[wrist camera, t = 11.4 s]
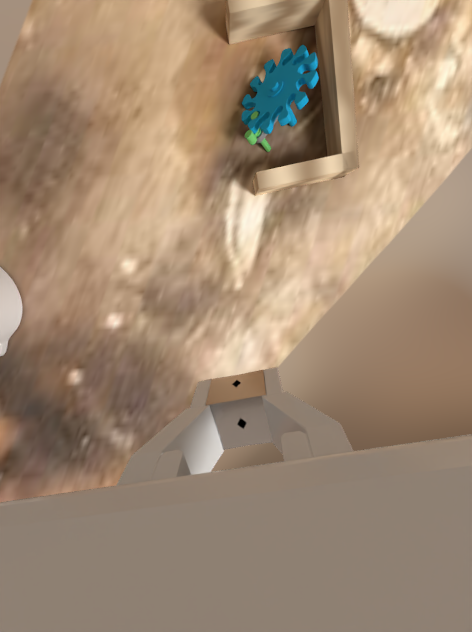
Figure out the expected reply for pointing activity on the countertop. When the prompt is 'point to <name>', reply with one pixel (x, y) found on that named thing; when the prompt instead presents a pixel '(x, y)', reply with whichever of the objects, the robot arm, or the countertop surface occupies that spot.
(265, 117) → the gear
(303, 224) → the countertop surface
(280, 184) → the carrier pocket
